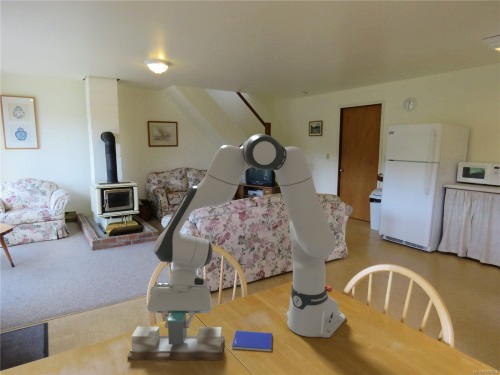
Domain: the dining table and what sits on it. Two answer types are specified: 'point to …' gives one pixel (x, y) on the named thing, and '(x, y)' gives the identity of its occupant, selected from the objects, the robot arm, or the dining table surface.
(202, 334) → the board
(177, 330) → the block
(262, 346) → the hard drive
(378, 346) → the dining table surface
